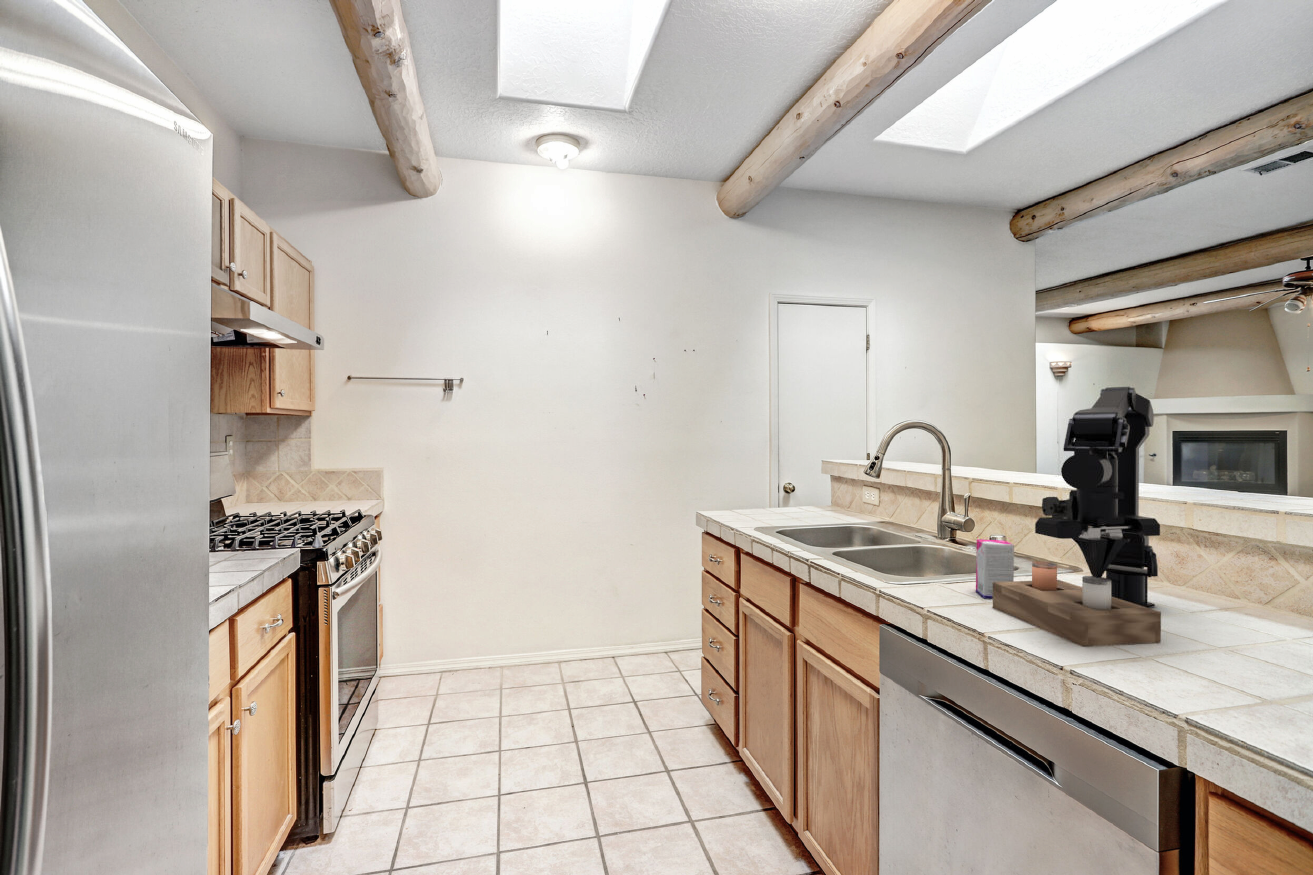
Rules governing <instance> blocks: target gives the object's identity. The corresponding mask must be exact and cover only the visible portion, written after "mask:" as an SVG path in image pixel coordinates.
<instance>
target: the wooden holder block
mask: <svg viewBox="0 0 1313 875" xmlns="http://www.w3.org/2000/svg"><path fill="white" fill-rule="evenodd" d="M992 609H995V610H997V611H1000V612H1002V613H1004V614H1006V615H1009V616H1010V617H1014V618H1016V619H1018V620H1021V621H1023V622H1025V623H1027V624H1030V625H1031V626H1034V627H1036V628H1039V629H1041V630H1043V631H1045V632H1047V633H1050V634H1052V635H1054V636H1056V637H1060V638H1061V639H1063V640H1066V641H1068V642H1071V643H1074V644H1076V645H1078V646H1080V647H1083V648H1084V647H1101V646H1102V647H1103V646H1105V647H1106V646H1121V645H1141V644H1160V643H1162V611H1158V610H1156V609H1152V608H1150V607H1143V606H1140V605H1137V604H1134V603H1131V602H1127V601H1124V600H1121V599H1118V598H1115V597H1112V596H1111V609H1104V610H1094V609H1091V608H1089V607H1086V606H1083V605H1082V586H1081V585H1080V586H1079V585H1076V584H1073V583H1070V582H1067V581H1063V580H1060V579H1057V591H1040V590H1037V589H1035V588H1032V580H1019V581H1018V580H1017V581H1012V582H993V599H992Z"/></svg>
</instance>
